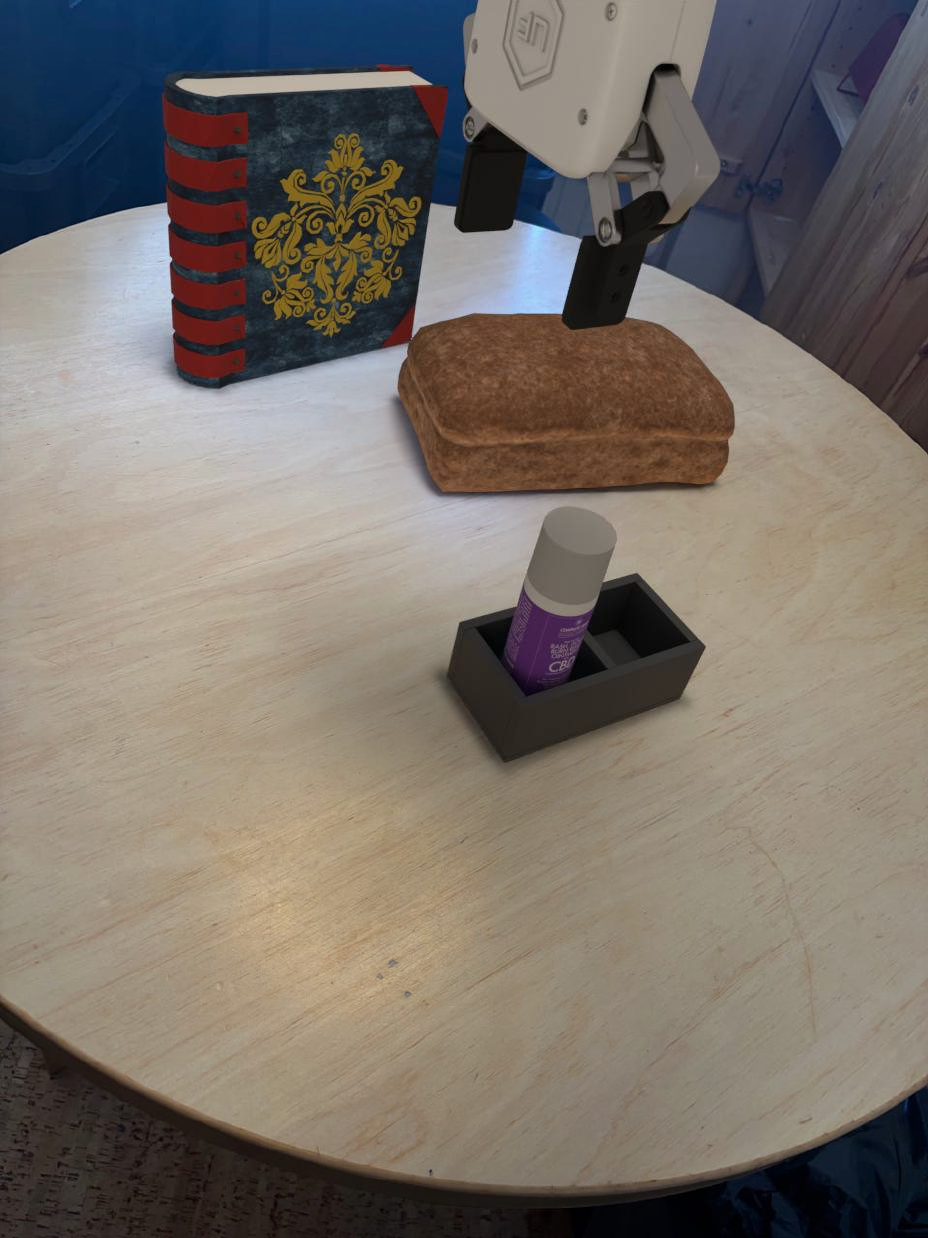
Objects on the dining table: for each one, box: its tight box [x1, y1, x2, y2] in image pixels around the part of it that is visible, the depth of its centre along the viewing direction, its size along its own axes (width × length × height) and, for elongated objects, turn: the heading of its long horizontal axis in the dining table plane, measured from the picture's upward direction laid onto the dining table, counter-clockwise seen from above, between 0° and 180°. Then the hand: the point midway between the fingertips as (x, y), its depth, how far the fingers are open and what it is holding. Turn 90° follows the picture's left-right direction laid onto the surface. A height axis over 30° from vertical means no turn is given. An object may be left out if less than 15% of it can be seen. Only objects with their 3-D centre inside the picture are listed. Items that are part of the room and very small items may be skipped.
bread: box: [397, 312, 736, 493], centre depth 87 cm, size 17×29×11 cm, turn 106°
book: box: [161, 63, 449, 389], centre depth 86 cm, size 25×7×25 cm, turn 129°
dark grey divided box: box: [446, 572, 707, 763], centre depth 66 cm, size 8×15×6 cm, turn 119°
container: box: [501, 505, 618, 697], centre depth 61 cm, size 5×5×15 cm
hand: (533, 273), depth 45 cm, fingers open, 9 cm apart
